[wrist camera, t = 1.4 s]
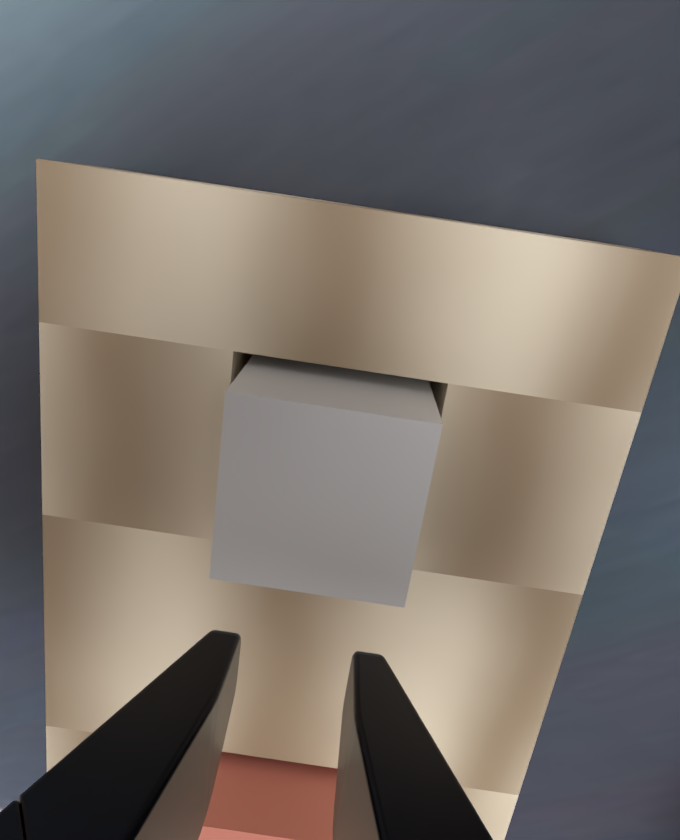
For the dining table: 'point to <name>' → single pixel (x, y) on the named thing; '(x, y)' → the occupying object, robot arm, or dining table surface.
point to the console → (348, 348)
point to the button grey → (323, 479)
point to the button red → (270, 800)
